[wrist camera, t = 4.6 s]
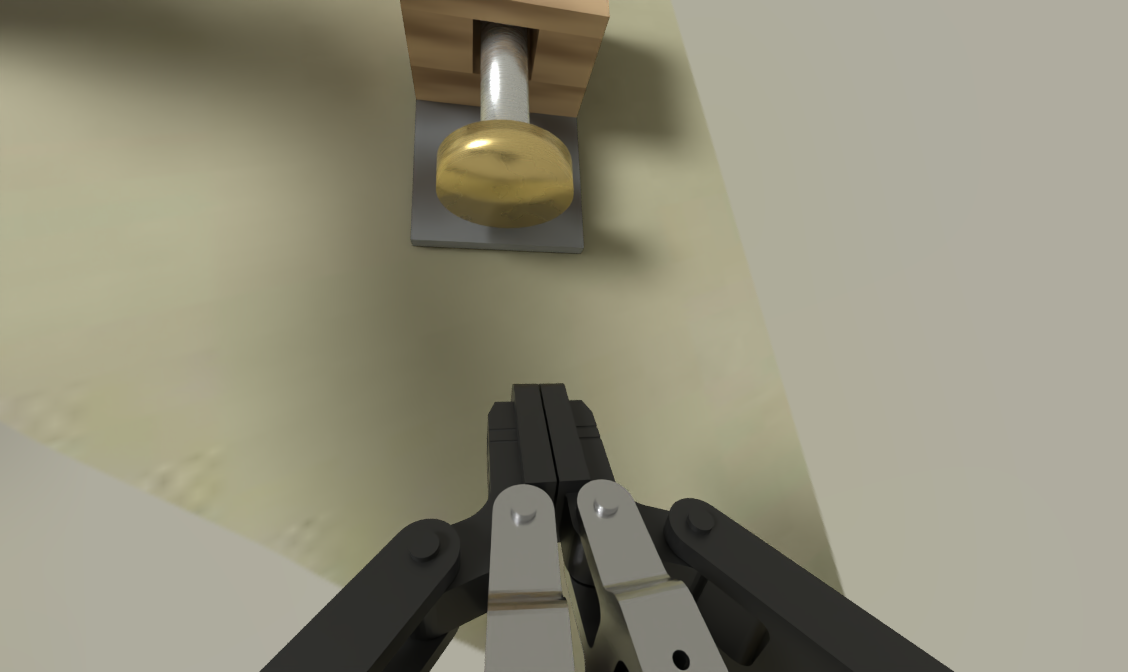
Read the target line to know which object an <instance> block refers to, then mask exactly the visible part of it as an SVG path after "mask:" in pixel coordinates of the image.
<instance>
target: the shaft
mask: <svg viewBox="0 0 1128 672" xmlns="http://www.w3.org/2000/svg"><path fill="white" fill-rule="evenodd" d="M436 193H437V197H438V199H439V201H440V202H441V203H442V205H443V206H444V207H445V208H446V209H447V210H449V211H450V212H451V213H453V214H454V215H456V216H458V217H460V218H462V219H464V220H466V221H469V222H472V223H475V224H479V225H484V226H489V227H497V228H521V227H529V226H534V225H538V224H542V223H545V222H547V221H550V220H552V219H554V218H556V217H558V216H559V215H561V214H562V213H563V212H564V211H565V210H567V208H568V207H569V206H570V204H571V202H572V200H573V195H574V189H573V170H572V159H571V155H570V152H569V150H568V149H567V147H566V146H565V144H564V143H563V142H562V141H561V140H560V139H559V138H557V137H556V136H555V135H553V134H552V133H550V132H549V131H547V130H545V129H543V128H541V127H538V126H535V125H532V124H530V121H529V86H528V51H527V27H521V26H515V25H508V24H502V23H495V22H489V21H483V20H481V121H479V122H475V123H471V124H468V125H465V126H463V127H461V128H459V129H457V130H455V131H454V132H452V133H451V134H449V135H448V136H447V137H446V138H445V139H444V140H443V142H442V143H441V144H440V146H439V149H438V152H437V167H436Z"/></svg>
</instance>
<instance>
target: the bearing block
mask: <svg viewBox="0 0 1128 672" xmlns="http://www.w3.org/2000/svg"><path fill="white" fill-rule="evenodd" d="M400 4H401V10H402V16H403V22H404V28H405V34H406V40H407V46H408V52H409V58H410V65H411V71H412V77H413V83H414V89H415V95H416V117H415V143H414V168H413V194H412V219H411V242H412V245H413V246H431V247H453V248H474V249H496V250H517V251H539V252H561V253H581V252H582V250H583V249H584V240H583V222H582V205H581V187H580V169H579V151H578V134H577V115H578V112H579V109H580V106H581V103H582V100H583V97H584V94H585V91H586V88H587V84H588V81H589V78H590V75H591V72H592V69H593V66H594V63H595V60H596V57H597V54H598V51H599V48H600V45H601V42H602V39H603V36H604V33H605V30H606V27H607V24H608V21H609V17H610V15H609V2H608V0H400ZM481 20H483V21H489V22H495V23H502V24H508V25H515V26H521V27H527V51H528V86H529V121H530V124H532V125H535V126H538V127H541V128H543V129H545V130H547V131H549V132H550V133H552V134H553V135H555V136H556V137H557V138H559V139H560V140H561V141H562V142H563V143H564V144H565V146H566V147H567V149H568V150H569V152H570V155H571V159H572V170H573V189H574V195H573V200H572V202H571V204H570V206H569V207H568V208H567V210H565V211H564V212H563V213H562V214H561V215H559V216H558V217H556V218H554V219H552V220H550V221H547V222H545V223H542V224H538V225H534V226H529V227H521V228H497V227H489V226H484V225H479V224H475V223H472V222H469V221H466V220H464V219H462V218H460V217H458V216H456V215H454V214H453V213H451V212H450V211H449V210H447V209H446V208H445V207H444V206H443V205H442V203H441V202H440V201H439V199H438V197H437V193H436V167H437V152H438V149H439V146H440V144H441V143H442V142H443V140H444V139H445V138H446V137H447V136H448V135H449V134H451V133H452V132H454V131H455V130H457V129H459V128H461V127H463V126H465V125H468V124H471V123H475V122H479V121H481Z"/></svg>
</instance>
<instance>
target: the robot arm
mask: <svg viewBox="0 0 1128 672" xmlns="http://www.w3.org/2000/svg"><path fill="white" fill-rule="evenodd" d="M596 426H597V425H596V422H595V419H594V416H593V413H592V411H591V410H590V409H589V408H588V407H587V406H586V405H585V404H584V403H583V402H582V400H569V399H568V396H567V392H566V389H565V385H564V384H563V383H556V384H539V385H538V384H513V385H512V395H511V402H495V403H494V405H493V407H492V409H491V410H490V412H489V414H488V433H487V476H488V500H487V502H486V504H485V505H484V507H483V508H482V509H481V510H480V511H479V512H477V513H476V514H475V515H473V516H472V517H470V518H468V519H465V520H463V521H460V522H458V523H455V524H453V525H450V524H448V523H446V522H444V521H442V520H438V519H424V520H419V521H416V522H414V523H412V524H410V525H408V526H406V527H405V528H404V529H402V530H401V531H400V532H399V533H398V534H397V535H396V536H395V537H394V538H393V539H392V540H391V541H390V542H389V543H388V544H387V545H386V546H385V547H384V548H383V549H382V550H381V551H380V552H379V553H378V554H377V555H376V556H375V557H374V558H373V559H372V560H371V561H370V562H369V563H368V564H367V565H366V566H365V567H364V568H363V569H362V570H361V571H360V572H359V573H358V574H357V575H356V576H355V577H354V578H353V579H352V580H351V581H350V582H349V583H348V584H347V585H346V586H345V587H344V588H343V589H342V590H341V591H340V592H339V593H338V594H337V595H336V596H335V597H334V598H333V599H332V600H331V601H330V602H329V603H328V604H327V605H326V606H325V607H324V608H323V609H322V610H321V611H320V612H319V613H318V614H317V615H316V616H315V617H314V618H313V619H312V620H311V621H310V622H309V623H308V624H307V625H306V626H305V627H304V628H303V629H302V630H301V631H300V632H299V633H298V634H297V635H296V636H295V637H294V638H293V639H292V640H291V641H290V642H289V643H288V644H287V645H286V646H285V647H284V648H283V649H282V650H281V651H280V652H279V653H278V654H277V655H276V656H275V657H274V658H273V659H272V660H271V661H270V662H269V663H268V664H267V665H266V666H265V667H264V668H263V669H262V670H261V671H260V672H430V670H431V669H432V667H433V666H434V664H435V663H436V662H437V660H438V659H439V657H440V656H441V654H442V653H443V652H444V650H445V649H446V647H447V646H448V644H449V643H450V641H451V640H452V639H453V637H454V636H455V634H456V632H457V630H458V628H459V626H461V625H463V624H465V623H467V622H469V621H471V620H473V619H475V618H477V617H479V616H481V615H483V614H485V613H487V632H486V652H485V671H484V672H575V669H574V659H573V649H572V639H571V629H570V619H569V610H568V604H567V600H566V598H565V597H563V595H562V589H561V579H560V568H559V556H558V545H557V543H558V542H561V547H562V553H563V559H564V576H565V580H566V584H567V588H568V592H569V596H570V600H571V604H572V608H573V612H574V616H575V620H576V624H577V628H578V632H579V636H580V640H581V644H582V648H583V653H584V659H585V672H954V671H952V670H951V669H949V668H948V667H947V666H945V665H943V664H942V663H940V662H939V661H938V660H936V659H935V658H933V657H932V656H930V655H929V654H928V653H926V652H925V651H923V650H922V649H920V648H919V647H917V646H916V645H914V644H913V643H912V642H910V641H909V640H907V639H906V638H904V637H903V636H901V635H900V634H898V633H897V632H895V631H894V630H893V629H891V628H890V627H888V626H887V625H885V624H883V623H882V622H881V621H879V620H878V619H876V618H875V617H874V616H872V615H871V614H869V613H868V612H866V611H865V610H863V609H862V608H860V607H859V606H858V605H856V604H854V603H853V602H852V601H850V600H849V599H847V598H846V597H844V596H843V595H841V594H840V593H839V592H837V591H836V590H834V589H833V588H831V587H830V586H828V585H827V584H825V583H824V582H822V581H821V580H820V579H818V578H817V577H815V576H814V575H812V574H811V573H809V572H808V571H806V570H805V569H803V568H802V567H801V566H799V565H798V564H796V563H795V562H793V561H792V560H790V559H789V558H787V557H786V556H785V555H783V554H782V553H780V552H779V551H777V550H776V549H774V548H773V547H771V546H770V545H768V544H767V543H766V542H764V541H763V540H761V539H760V538H758V537H757V536H755V535H754V534H752V533H751V532H749V531H748V530H747V529H745V528H744V527H742V526H741V525H739V524H738V523H736V522H735V521H733V520H732V519H730V518H729V517H728V516H726V515H725V514H723V513H722V512H720V511H719V510H717V509H716V508H714V507H713V506H711V505H710V504H708V503H706V502H704V501H701V500H698V499H693V498H685V499H681V500H679V501H677V502H675V503H674V504H673V505H672V507H671V509H670V511H667V510H663V509H658V508H654V507H650V506H645V505H642V504H639V503H637V502H635V501H634V499H633V497H632V496H631V494H630V493H629V492H628V491H627V490H626V489H625V488H624V487H623V486H621V485H620V484H618V483H616V482H615V479H614V476H613V473H612V470H611V467H610V464H609V461H608V458H607V455H606V452H605V449H604V446H603V443H602V440H601V439H600V434H599V431H598V428H597V427H596Z"/></svg>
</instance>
